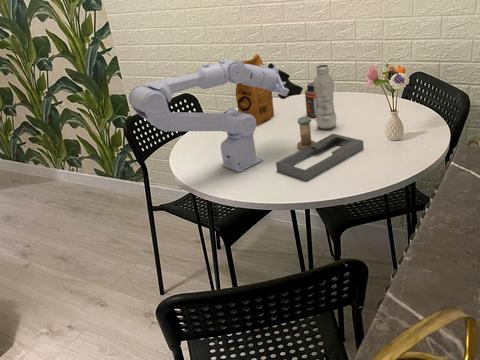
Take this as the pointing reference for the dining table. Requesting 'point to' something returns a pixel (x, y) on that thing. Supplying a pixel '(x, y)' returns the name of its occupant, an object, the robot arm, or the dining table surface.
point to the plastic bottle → (324, 98)
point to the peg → (305, 133)
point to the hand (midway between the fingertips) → (294, 84)
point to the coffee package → (255, 98)
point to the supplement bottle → (311, 101)
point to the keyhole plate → (338, 155)
